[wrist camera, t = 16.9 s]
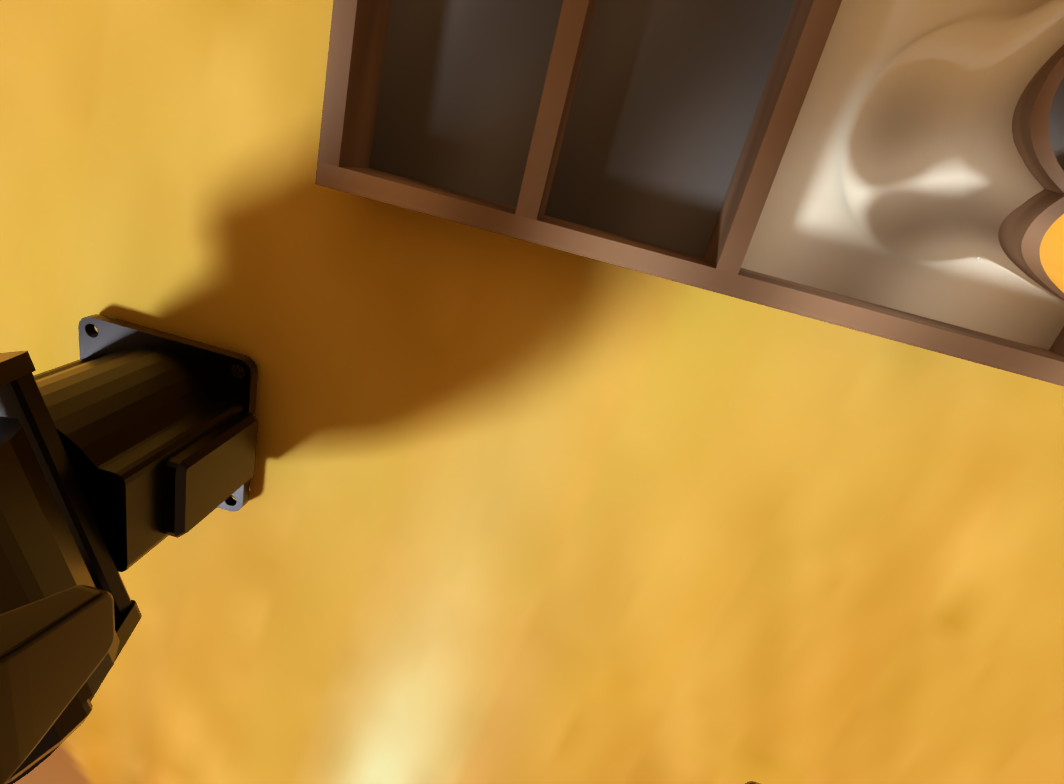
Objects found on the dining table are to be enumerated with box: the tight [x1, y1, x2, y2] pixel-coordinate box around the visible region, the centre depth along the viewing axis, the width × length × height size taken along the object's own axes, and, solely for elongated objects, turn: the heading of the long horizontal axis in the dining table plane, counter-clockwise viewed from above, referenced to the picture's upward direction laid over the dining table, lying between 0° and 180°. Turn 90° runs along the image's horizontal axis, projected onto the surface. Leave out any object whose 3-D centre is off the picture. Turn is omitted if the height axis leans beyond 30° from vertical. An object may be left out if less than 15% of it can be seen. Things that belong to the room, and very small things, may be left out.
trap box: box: [315, 0, 1064, 386], centre depth 15 cm, size 22×11×2 cm, turn 76°
